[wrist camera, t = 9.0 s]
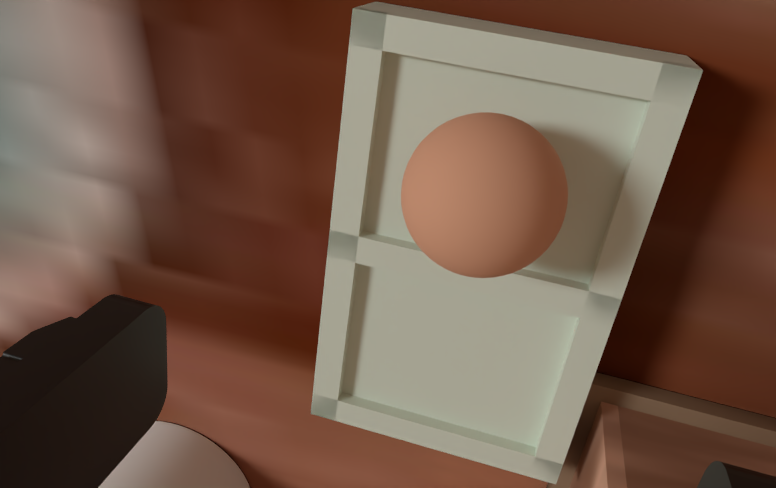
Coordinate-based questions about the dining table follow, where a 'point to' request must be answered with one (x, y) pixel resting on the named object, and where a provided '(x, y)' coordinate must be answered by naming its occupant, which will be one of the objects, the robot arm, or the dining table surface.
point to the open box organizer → (660, 438)
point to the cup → (175, 462)
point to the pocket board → (498, 294)
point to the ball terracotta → (484, 195)
